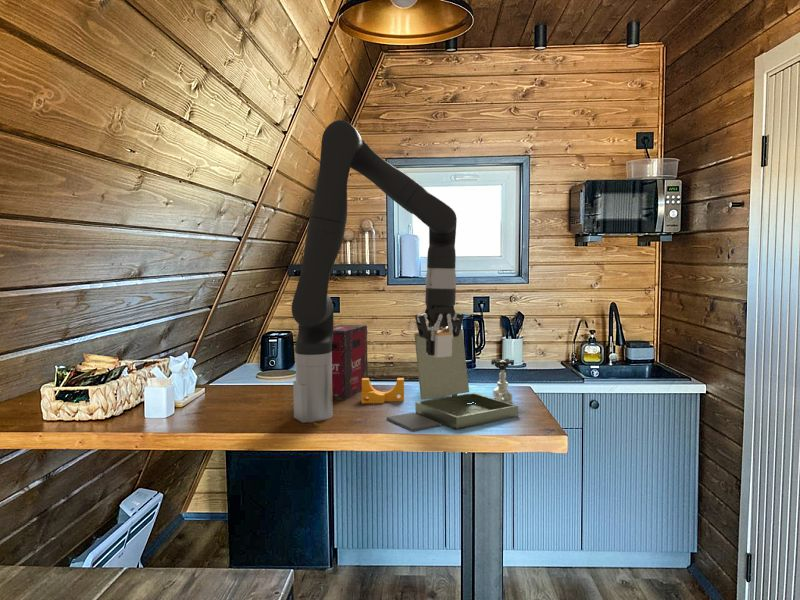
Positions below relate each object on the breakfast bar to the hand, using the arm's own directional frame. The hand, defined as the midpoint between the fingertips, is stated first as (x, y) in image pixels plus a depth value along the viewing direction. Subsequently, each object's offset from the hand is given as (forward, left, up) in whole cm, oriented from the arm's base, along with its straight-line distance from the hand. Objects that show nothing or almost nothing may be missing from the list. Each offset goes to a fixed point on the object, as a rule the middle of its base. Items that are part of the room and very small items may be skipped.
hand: (439, 354), depth 140 cm
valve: (+24, +3, -17) cm, 30 cm away
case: (+7, -2, -16) cm, 18 cm away
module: (0, 0, 0) cm, 0 cm away
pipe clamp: (-3, +23, -17) cm, 29 cm away
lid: (+7, +7, -13) cm, 17 cm away
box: (-8, +39, -17) cm, 43 cm away
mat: (-8, 0, -16) cm, 18 cm away
